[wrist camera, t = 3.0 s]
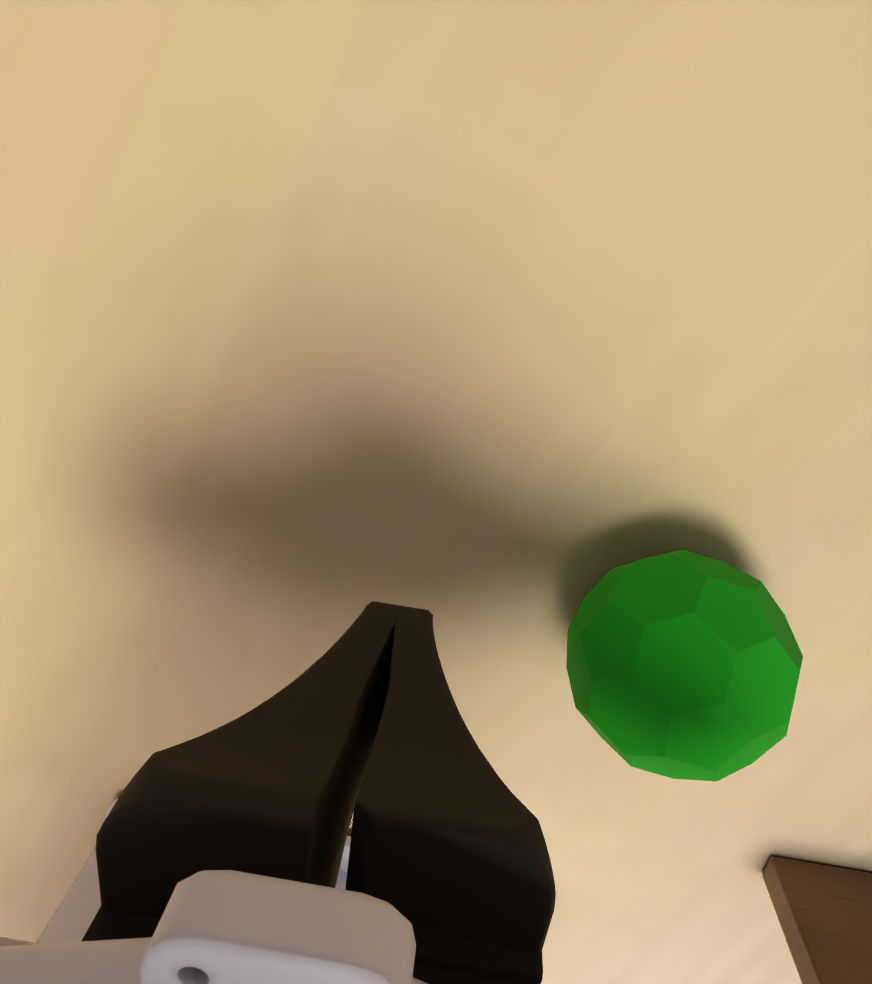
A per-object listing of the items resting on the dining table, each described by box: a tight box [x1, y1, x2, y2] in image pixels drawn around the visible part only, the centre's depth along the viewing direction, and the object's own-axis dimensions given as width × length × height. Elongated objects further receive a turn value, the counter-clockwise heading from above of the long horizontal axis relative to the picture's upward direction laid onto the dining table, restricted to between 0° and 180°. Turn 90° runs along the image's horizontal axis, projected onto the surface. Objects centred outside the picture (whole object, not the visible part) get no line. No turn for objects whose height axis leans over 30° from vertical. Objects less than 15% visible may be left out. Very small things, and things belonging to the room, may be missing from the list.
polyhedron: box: [566, 550, 803, 781], centre depth 16 cm, size 5×5×5 cm
